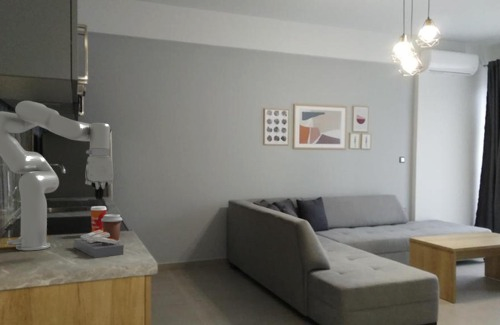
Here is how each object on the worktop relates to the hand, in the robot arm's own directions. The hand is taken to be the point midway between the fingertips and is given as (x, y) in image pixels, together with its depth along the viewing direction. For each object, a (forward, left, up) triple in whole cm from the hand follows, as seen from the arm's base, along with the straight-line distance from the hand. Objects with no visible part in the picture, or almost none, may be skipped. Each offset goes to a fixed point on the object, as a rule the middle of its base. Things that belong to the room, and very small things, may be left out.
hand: (98, 198), depth 168 cm
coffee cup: (+12, +16, -21) cm, 29 cm away
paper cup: (+13, +35, -21) cm, 43 cm away
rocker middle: (0, 0, -16) cm, 16 cm away
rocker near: (0, -7, -16) cm, 17 cm away
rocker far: (0, +7, -16) cm, 17 cm away
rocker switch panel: (0, 0, -21) cm, 21 cm away
